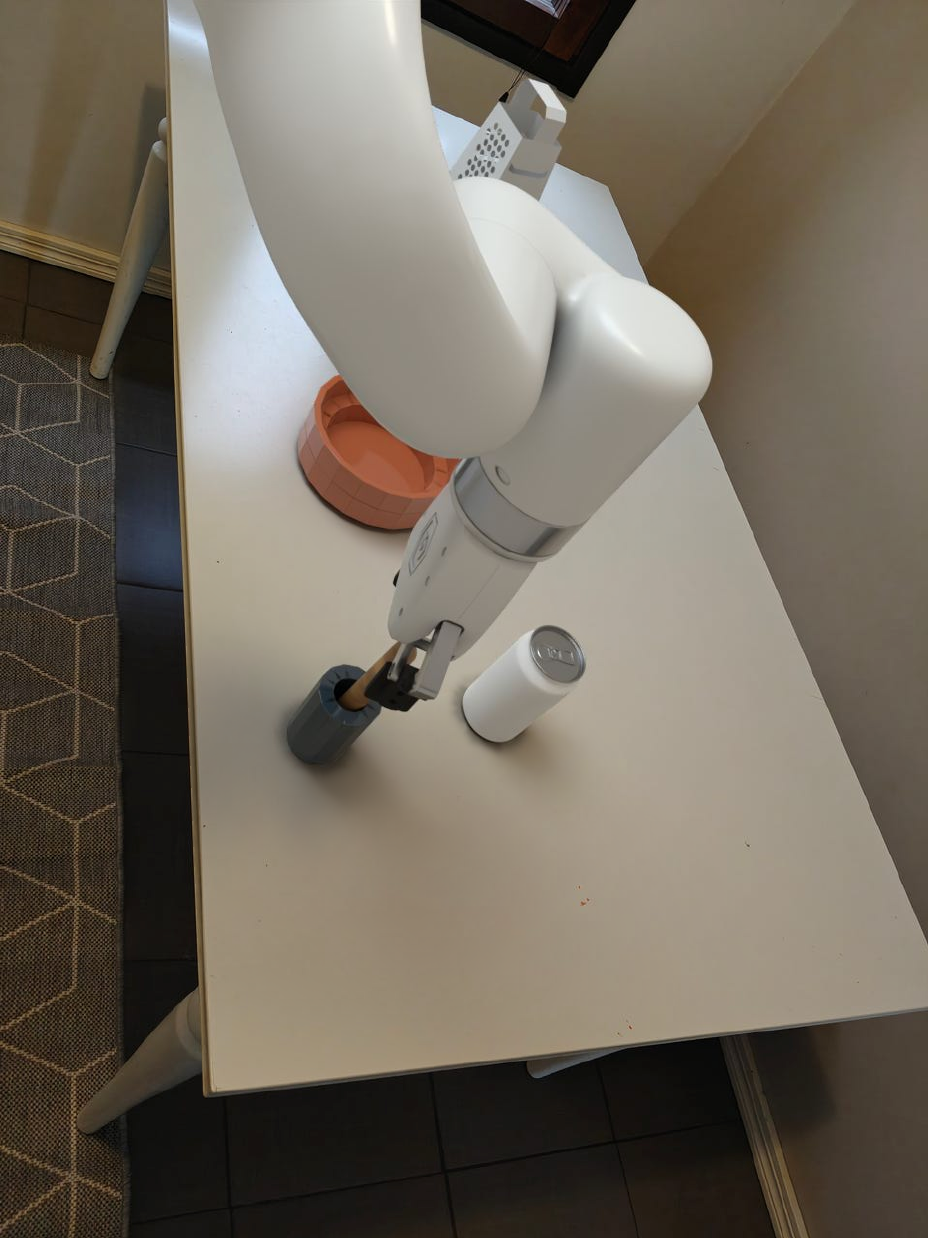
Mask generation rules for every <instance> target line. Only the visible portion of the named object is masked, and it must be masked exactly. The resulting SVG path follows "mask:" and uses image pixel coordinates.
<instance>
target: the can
mask: <svg viewBox="0 0 928 1238" xmlns="http://www.w3.org/2000/svg"><path fill="white" fill-rule="evenodd" d="M586 667H587V660H586V654H585V653H584V650H583V648H582V646H581V644H580V643H579V641H578V640H577V638H576V637H574V635H572V634H571V633H570V632H569V631H568V630H567V629H564V628H562V627H560V626H557V625H553V624H544V625H541V626H539V627H537V628H536V629H532V630H529V631H527V632H525V633H524V634H523V635H522V636H521V637H519V638H518V639H517V640H516V641H515V642H514V643H512V644H511V646H509V647H508V648H507V649H506V650H505V651H504V652H503V653H502V654H501V655H500V656H499V657H498V658H497V659H496V660H495V661H493V663H492V664H490V666H488V667H487V668H486V669H485V670H484V671H483V672H482V673H481V674H480V675H479V676H478V677H477V678H476V679H475V680H473V682H472V683H471V684H470V685H469V686H468V687H467V688H466V690H465V691H464V694H463V697H462V709H463V713H464V717H465V718H466V721H467V723H468V725H469V726H470V727H471V729H472V730H473V731H474V732H475V733H476V734H477V735H479V736H481V737H482V738H484V739H486V740H488V741H491V742H494V743H506V742H508V741H511V740H513V739H514V738H515V737H517V736H518V735H520V733H522V732H523V731H525V730H526V729H527V728H528V727H530V726H531V725H532V724H533V723H535V722H536V721H537V720H538V719H540V718H541V717H542V716H544V715H545V714H546V713H547V712H549V711H550V710H551V709H553V707H556V705H557V704H559V703H560V702H561V701H563V700H564V699H566V697H567V696H568V695H570V694H571V693H572V692H573V691H574V690H575V689H576V688H577V686H578V684H579V682H580V679H582V677H583V676H584V675H585V673H586Z"/></svg>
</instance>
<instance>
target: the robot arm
mask: <svg viewBox="0 0 928 1238" xmlns="http://www.w3.org/2000/svg"><path fill="white" fill-rule="evenodd" d="M192 1H193V4H194V7H195V9H196V11H197V13H198V16H199V19H200V22H201V25H202V28H203V32H204V36H205V39H206V45H207V49H208V55H209V60H210V65H211V71H212V75H213V79H214V80H213V81H214V84H215V85H214V86H215V89H216V92H217V96H218V100H219V104H220V107H221V111H222V114H223V118H224V122H225V125H226V128H227V131H228V134H229V138H230V141H231V144H232V147H233V151H234V153H235V156H236V160H237V163H238V167H239V171H240V174H241V175H240V176H241V178H242V181H243V185H244V188H245V191H246V194H247V197H248V201H249V205H250V208H251V210H252V213H253V216H254V219H255V223H256V224H257V228H258V231H259V233H260V236H261V238H262V240H263V243H264V245H265V248H266V251H267V253H268V255H269V258H270V260H271V262H272V264H273V266H274V268H275V271H276V272H277V274H278V277H279V279H280V281H281V282H282V285H283V287H284V289H285V291H286V293H287V294H288V296H289V297H290V299H291V300H292V303H293V304H294V306H295V309H296V310H297V312H298V313H299V314H300V316H301V318H302V319H303V322H305V323H306V326H307V327H308V329H309V331H310V332H311V334H312V335H313V336H314V338H315V339H316V341H317V342H318V345H319V346H320V347H321V348H322V350H323V352H324V353H325V354H326V356H327V358H328V359H329V361H330V363H331V364H332V366H333V367H334V369H335V370H336V371H337V373H338V375H340V376H341V377H342V379H343V380H344V382H345V383H346V384H347V386H348V387H349V388H350V390H351V391H352V392H353V394H354V395H355V397H356V398H357V399H358V401H359V402H360V403H361V404H362V405H363V407H364V408H365V409H366V410H367V411H368V412H369V413H370V414H371V415H372V416H373V417H374V418H375V420H376V421H377V422H378V423H379V424H380V425H381V426H383V427H384V428H385V429H386V430H387V431H389V432H390V433H391V434H392V435H393V436H395V437H396V438H397V439H399V440H400V441H402V442H404V443H405V444H407V445H409V446H410V447H412V448H414V449H416V450H419V451H421V452H424V453H426V454H429V455H432V456H437V457H442V458H453V459H461V460H460V461H459V463H458V464H457V466H456V467H455V469H454V471H453V472H452V475H451V479H450V481H449V482H448V484H447V485H446V486H445V487H444V489H443V490H442V491H441V492H440V494H439V495H438V496H437V497H436V499H435V500H434V501H433V503H432V504H431V505H430V506H429V508H428V509H427V510H426V511H425V513H424V514H423V515H422V517H421V518H420V519H419V521H418V522H417V523H416V525H415V526H414V527H412V530H411V533H410V535H409V537H408V540H407V543H406V547H405V549H404V550H405V551H404V554H403V556H402V557H403V558H402V561H401V564H400V568H399V570H397V572H396V573H395V575H394V576H393V581H392V585H393V586H394V592H393V597H392V601H391V605H390V609H389V614H388V618H387V630H388V634H389V636H390V638H391V639H392V640H394V641H396V642H398V641H399V642H401V643H402V644H401V646H400V648H399V650H398V652H397V654H396V656H395V659H394V661H393V662H391V661H389V662H388V661H387V662H386V663H385V664H384V665H383V667H382V668H381V669H380V670H379V672H378V673H377V674H376V675H375V676H374V678H373V679H372V680H371V681H370V683H369V684H368V685H367V686H366V688H365V691H364V696H365V697H366V698H368V699H371V700H373V701H376V702H378V703H379V704H380V705H381V706H382V707H383V708H384V709H387V710H390V711H393V712H395V711H397V712H402V713H408V712H409V711H410V710H411V708H413V706H415V704H416V703H417V702H418V701H419V700H422V701H424V702H427V701H429V700H430V701H431V700H432V701H433V700H435V699H436V698H437V697H438V695H439V694H440V691H441V688H442V685H443V682H444V679H445V676H446V674H447V671H448V668H449V666H450V663H451V662H454V661H456V660H458V659H460V658H461V657H462V656H463V655H465V654H466V653H467V652H468V651H469V650H470V649H472V648H473V646H475V644H476V643H477V642H478V641H479V640H480V639H481V638H482V637H483V636H484V634H485V633H486V632H487V631H488V630H489V628H490V627H491V626H492V625H493V624H494V623H495V621H497V619H498V618H499V617H500V615H501V614H502V613H503V611H504V610H505V609H506V608H507V607H508V605H510V603H511V601H512V600H513V598H514V597H515V596H516V595H517V593H518V592H519V590H520V589H521V588H522V586H523V585H524V583H526V581H527V579H528V578H529V577H530V575H531V573H532V572H533V571H534V569H535V568H536V566H537V564H538V563H541V562H545V561H547V560H550V559H552V558H554V557H555V556H557V555H558V553H559V552H560V551H561V550H562V549H563V548H564V547H565V546H566V545H567V544H568V543H569V542H570V541H571V540H572V539H573V538H574V537H575V536H576V535H577V534H578V532H579V531H580V530H582V528H583V527H584V526H585V525H586V524H587V523H588V522H589V521H590V520H591V518H592V517H593V516H594V515H595V514H596V513H597V512H598V511H599V509H600V508H602V507H603V505H604V504H605V503H606V502H607V501H608V500H609V499H610V498H611V497H612V496H613V495H614V494H615V493H616V491H618V489H620V487H621V486H622V485H623V484H624V483H625V482H626V481H627V480H628V479H629V478H630V477H631V475H632V474H634V473H635V472H636V470H637V469H638V468H639V467H640V466H641V465H642V464H643V463H644V462H645V461H646V460H647V459H648V458H649V457H650V456H651V454H652V453H653V452H654V451H656V449H657V448H658V447H659V446H660V445H661V444H662V443H663V442H664V441H665V440H666V439H667V437H669V435H670V434H671V433H672V432H673V431H674V430H675V429H676V428H677V427H678V426H680V424H681V423H682V422H683V421H684V419H686V417H688V416H689V415H690V413H691V412H692V411H693V410H694V408H696V406H698V404H699V403H700V402H701V400H702V399H703V398H704V396H705V394H706V392H707V390H708V389H709V386H710V383H711V380H712V377H713V376H712V375H713V358H712V354H711V351H710V347H709V344H708V342H707V340H706V338H705V335H704V334H703V333H702V331H701V330H700V328H699V326H698V325H697V323H696V322H695V320H693V318H691V316H690V315H689V314H688V313H687V312H686V311H685V310H684V309H683V308H682V307H681V306H680V305H679V304H677V303H676V301H674V300H672V299H671V298H670V297H669V296H667V295H666V294H665V293H663V292H661V291H660V290H658V289H656V288H655V287H654V286H652V285H649V284H647V283H645V282H643V281H641V280H638V279H634V278H630V277H626V276H625V275H622V274H621V273H619V272H618V271H617V270H616V269H614V267H612V266H611V265H610V264H609V263H607V261H605V260H604V259H603V258H601V256H599V255H598V254H597V252H595V251H594V250H593V249H591V247H589V246H588V244H586V243H585V242H584V241H583V240H582V239H581V238H580V237H579V236H577V235H576V234H575V233H574V232H573V231H572V230H571V229H570V228H569V227H568V226H567V225H566V224H565V223H564V222H562V220H561V219H559V217H557V216H556V215H555V214H554V213H553V212H552V211H550V209H548V208H547V206H545V205H544V204H542V203H541V202H540V200H539V201H537V200H536V199H535V198H533V197H532V196H531V195H529V194H528V193H526V192H525V191H523V190H521V189H520V188H518V187H516V186H514V185H512V184H510V183H507V182H504V181H502V180H499V179H495V178H491V177H482V176H475V177H466V178H462V179H458V180H455V181H452V179H451V176H450V173H449V171H450V170H449V166H448V163H447V160H446V156H445V152H444V149H443V145H442V142H441V139H440V136H439V132H438V131H439V130H438V127H437V123H436V118H435V114H434V110H433V109H434V108H433V105H432V99H431V94H430V88H429V82H428V78H427V77H428V76H427V71H426V61H425V54H424V46H423V34H422V17H421V15H422V14H421V13H422V11H421V0H192ZM431 634H432V636H431V638H428V636H430V635H431ZM414 647H416V648H417V649H419V650H421V651H423V652H425V655H424V658H423V661H422V663H421V666H420V668H419V667H417V666H416V667H415V666H413V665H411V664H410V665H409V664H406V663H407V660H408V658H409V656H410V654H411V652H412V650H413V648H414Z"/></svg>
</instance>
